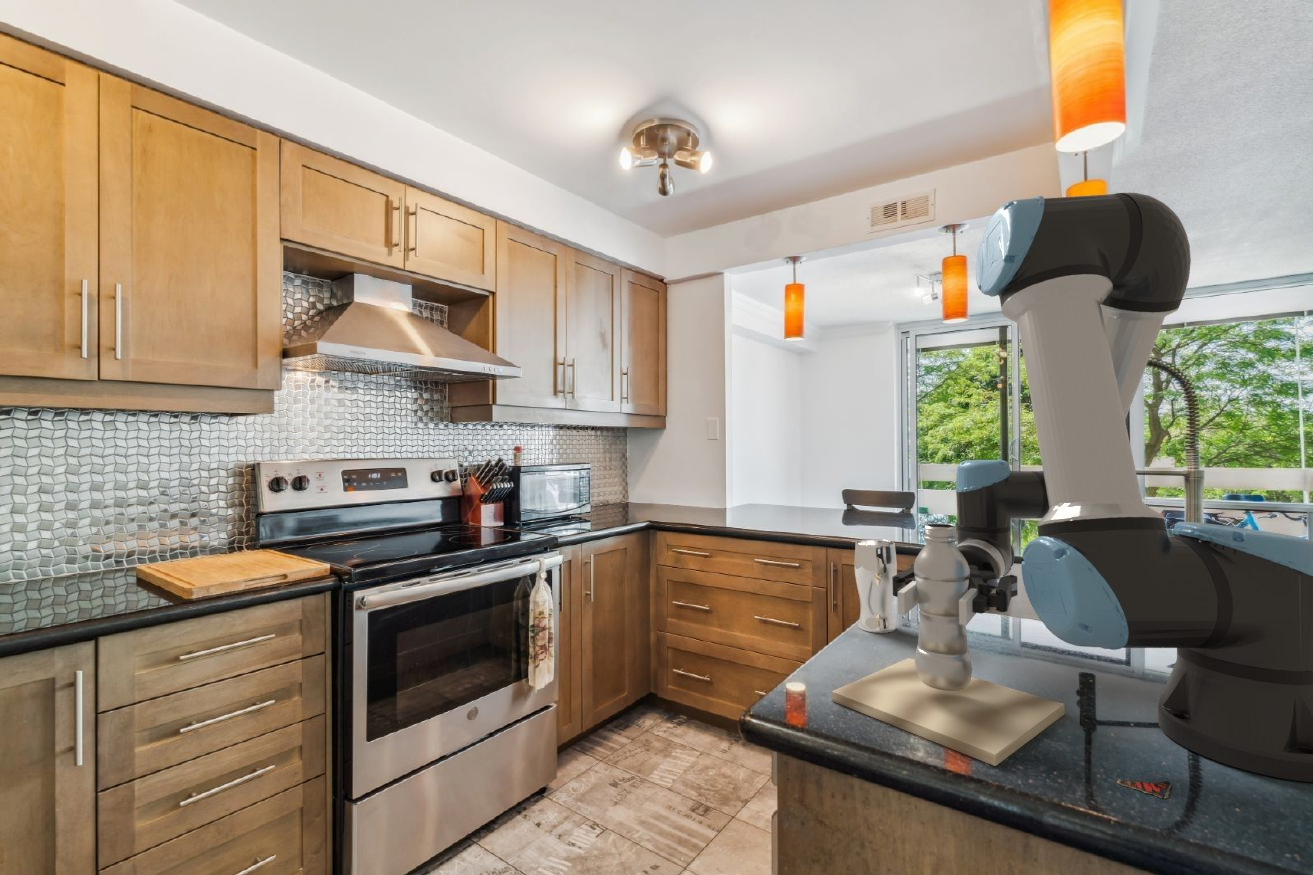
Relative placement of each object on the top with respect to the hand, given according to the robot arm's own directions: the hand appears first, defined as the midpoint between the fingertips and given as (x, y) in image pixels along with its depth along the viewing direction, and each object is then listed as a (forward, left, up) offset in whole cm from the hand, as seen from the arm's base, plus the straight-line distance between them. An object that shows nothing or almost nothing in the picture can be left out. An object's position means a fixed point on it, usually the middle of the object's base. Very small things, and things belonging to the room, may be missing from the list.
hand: (931, 608), depth 71 cm
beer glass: (+24, -26, -14) cm, 38 cm away
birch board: (+1, -5, -13) cm, 14 cm away
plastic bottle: (+1, -5, -11) cm, 12 cm away
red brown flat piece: (-19, -4, -14) cm, 24 cm away
